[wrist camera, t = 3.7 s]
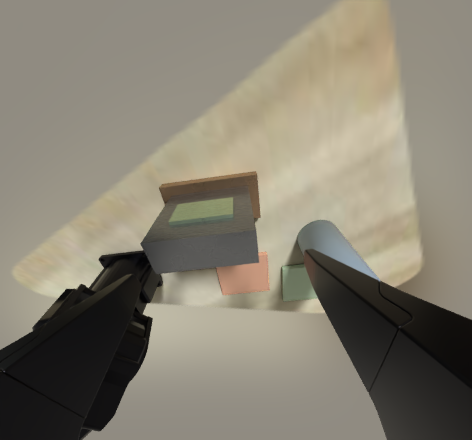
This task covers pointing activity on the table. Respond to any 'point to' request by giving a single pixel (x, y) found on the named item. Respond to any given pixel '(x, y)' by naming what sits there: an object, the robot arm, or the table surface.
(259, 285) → the terracotta pad
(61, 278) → the table surface
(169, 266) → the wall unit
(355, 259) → the cartridge
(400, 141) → the table surface
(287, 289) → the sage pad
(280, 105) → the table surface
